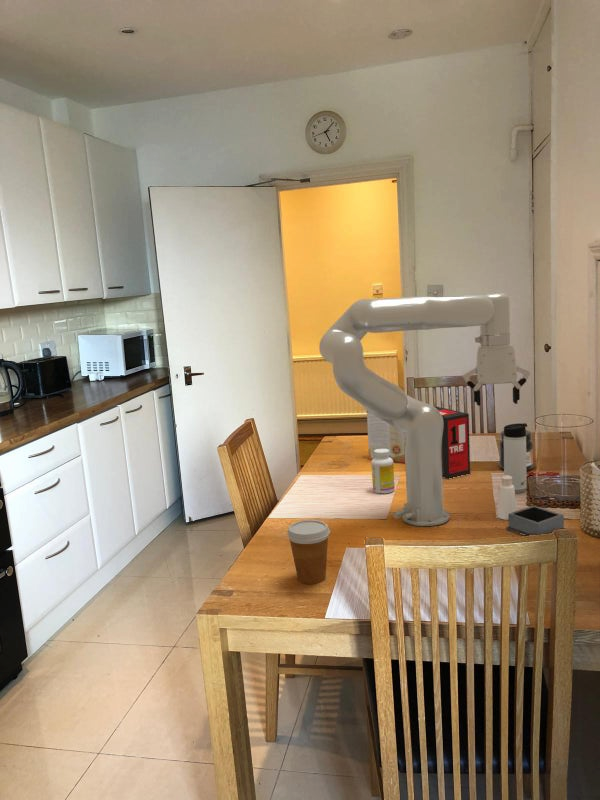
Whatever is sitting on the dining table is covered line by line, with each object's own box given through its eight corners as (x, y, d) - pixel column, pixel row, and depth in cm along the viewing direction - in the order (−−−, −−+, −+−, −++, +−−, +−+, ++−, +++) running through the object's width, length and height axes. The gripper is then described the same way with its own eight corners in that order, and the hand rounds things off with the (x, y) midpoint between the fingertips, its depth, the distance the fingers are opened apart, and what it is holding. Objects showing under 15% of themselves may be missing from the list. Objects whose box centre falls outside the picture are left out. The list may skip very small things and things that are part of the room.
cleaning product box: (417, 467, 226) (414, 410, 222) (438, 463, 229) (436, 406, 226) (448, 479, 211) (446, 418, 207) (470, 474, 215) (468, 413, 211)
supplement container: (532, 473, 211) (532, 436, 209) (497, 472, 215) (497, 436, 213) (534, 464, 220) (533, 429, 218) (501, 462, 224) (500, 428, 222)
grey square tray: (538, 541, 159) (538, 524, 159) (506, 529, 168) (506, 513, 167) (566, 530, 164) (566, 515, 164) (533, 519, 173) (533, 504, 172)
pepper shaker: (504, 521, 173) (503, 480, 171) (492, 514, 178) (492, 475, 176) (522, 518, 175) (521, 477, 173) (510, 511, 180) (510, 472, 178)
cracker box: (411, 459, 237) (409, 401, 233) (404, 463, 232) (402, 404, 228) (376, 455, 244) (373, 400, 240) (368, 460, 239) (365, 403, 235)
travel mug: (529, 493, 193) (528, 426, 189) (505, 493, 194) (504, 426, 191) (526, 486, 199) (525, 421, 195) (503, 486, 200) (502, 422, 197)
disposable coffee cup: (284, 585, 146) (280, 533, 144) (299, 566, 155) (295, 517, 153) (325, 589, 143) (321, 536, 140) (338, 570, 151) (335, 520, 149)
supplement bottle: (399, 489, 204) (397, 449, 202) (386, 495, 200) (384, 454, 197) (381, 486, 209) (379, 446, 207) (368, 492, 204) (366, 451, 202)
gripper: (463, 344, 174) (465, 408, 177) (531, 340, 171) (532, 405, 174) (460, 341, 181) (462, 402, 184) (526, 337, 179) (527, 399, 182)
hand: (496, 403), depth 179 cm, fingers open, 9 cm apart
